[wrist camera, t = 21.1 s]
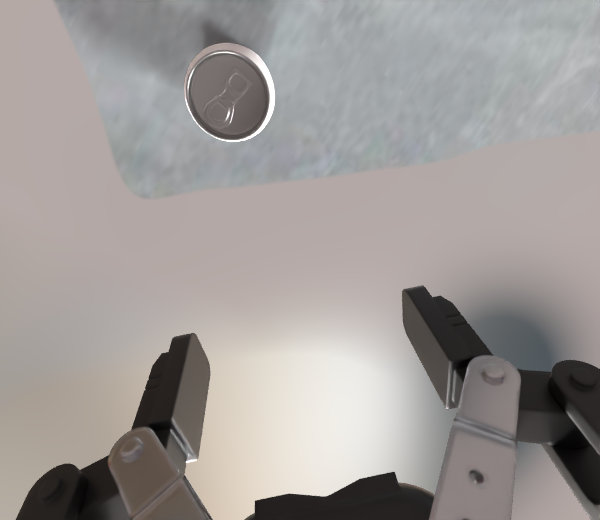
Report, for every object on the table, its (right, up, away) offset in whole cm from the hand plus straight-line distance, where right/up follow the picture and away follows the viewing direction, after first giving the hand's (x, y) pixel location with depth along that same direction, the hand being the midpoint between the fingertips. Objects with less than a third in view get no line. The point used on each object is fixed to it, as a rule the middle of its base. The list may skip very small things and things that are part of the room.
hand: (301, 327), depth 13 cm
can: (-6, +20, +20) cm, 29 cm away
